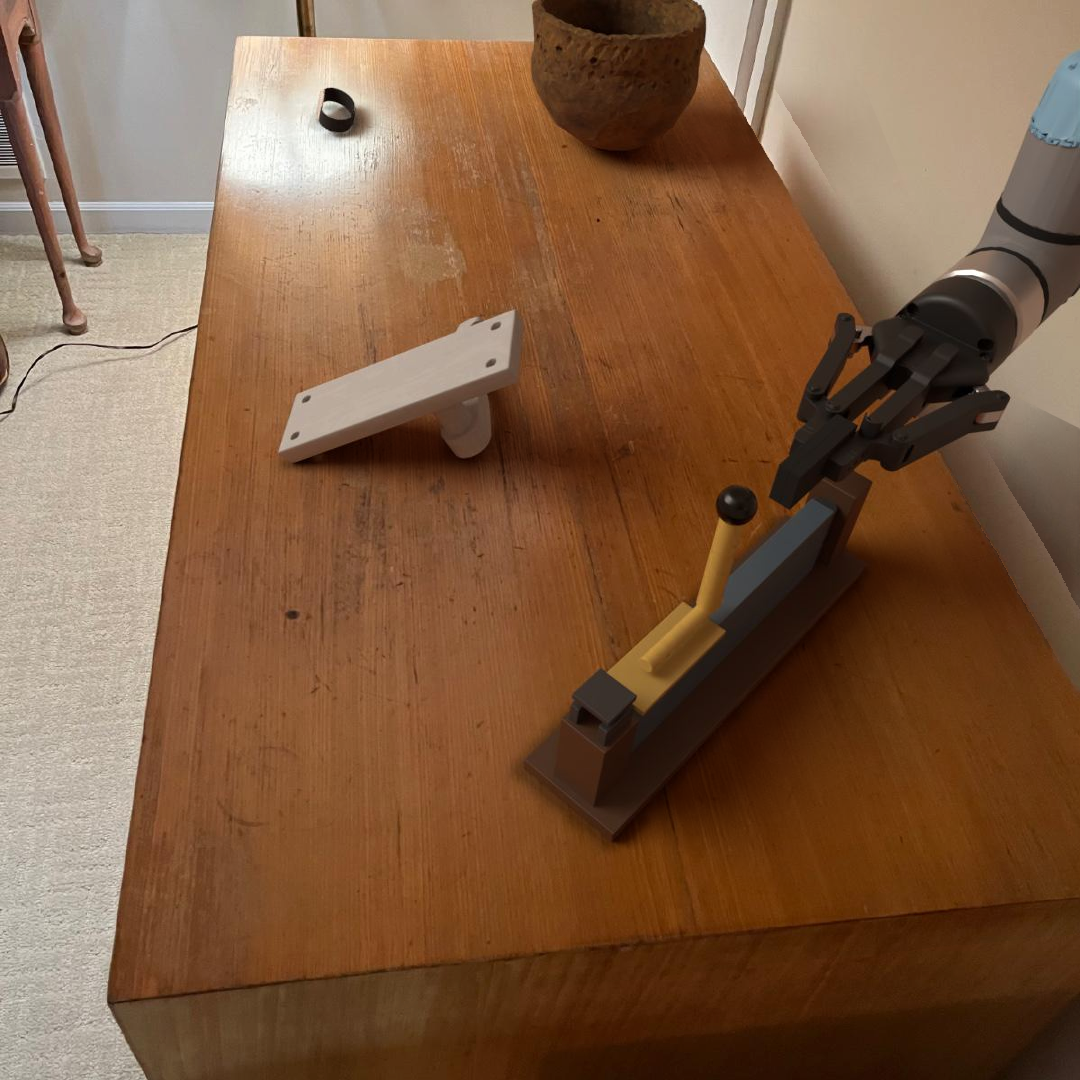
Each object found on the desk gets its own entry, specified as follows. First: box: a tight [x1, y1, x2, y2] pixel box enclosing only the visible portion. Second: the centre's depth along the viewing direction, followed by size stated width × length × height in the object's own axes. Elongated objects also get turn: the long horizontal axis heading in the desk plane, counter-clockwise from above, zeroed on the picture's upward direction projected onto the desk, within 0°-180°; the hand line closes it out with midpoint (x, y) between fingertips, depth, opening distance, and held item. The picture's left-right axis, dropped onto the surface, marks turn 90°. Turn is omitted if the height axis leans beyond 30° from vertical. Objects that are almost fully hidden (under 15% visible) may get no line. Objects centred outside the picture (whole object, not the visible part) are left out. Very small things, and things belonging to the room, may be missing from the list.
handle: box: [277, 308, 524, 464], centre depth 82 cm, size 18×8×20 cm
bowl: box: [530, 0, 707, 152], centre depth 113 cm, size 19×19×15 cm
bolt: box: [639, 484, 759, 673], centre depth 56 cm, size 7×2×10 cm, turn 138°
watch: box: [314, 87, 357, 134], centre depth 116 cm, size 8×5×4 cm, turn 6°
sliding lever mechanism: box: [523, 469, 873, 843], centre depth 65 cm, size 29×7×9 cm, turn 138°
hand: (784, 487), depth 60 cm, fingers closed
